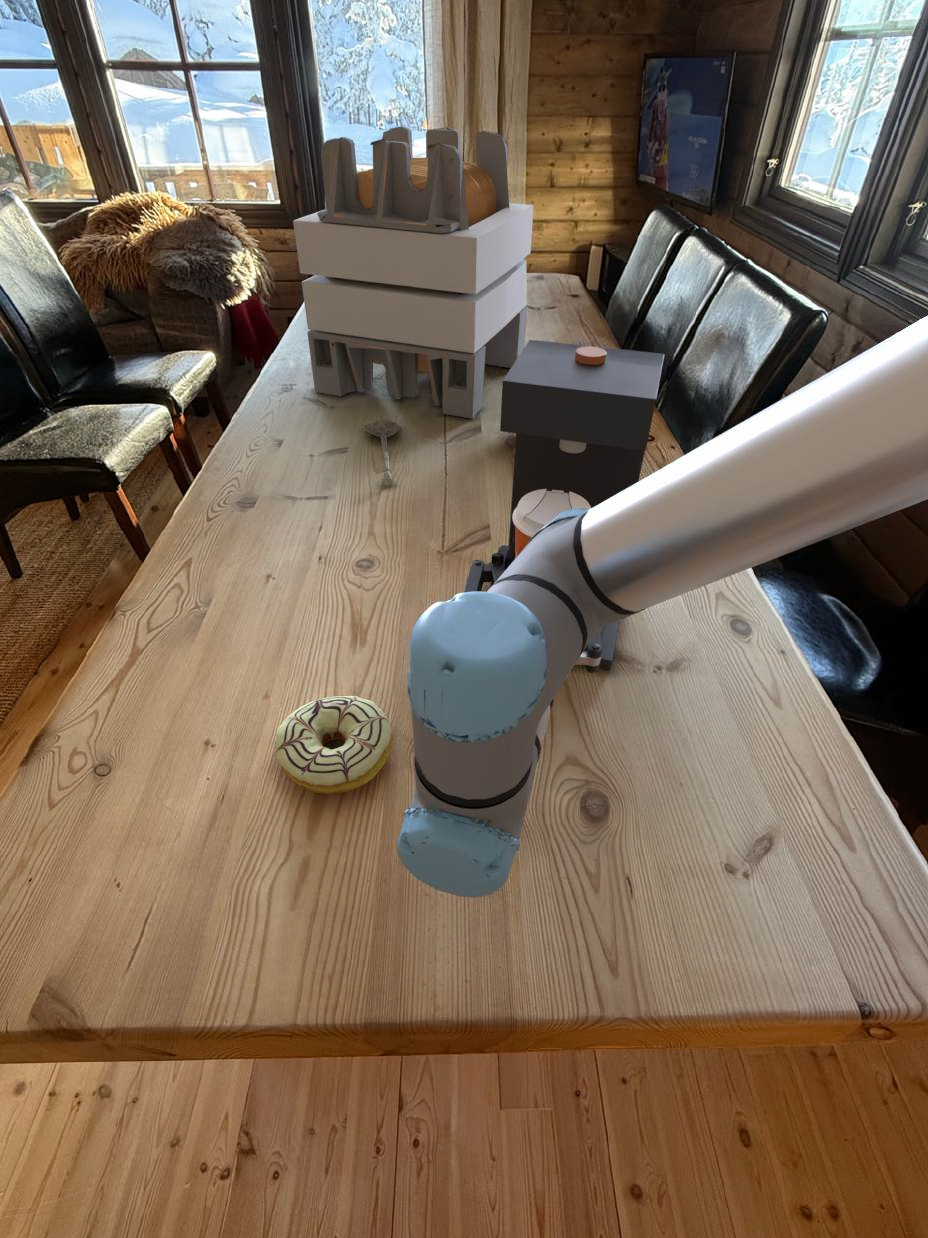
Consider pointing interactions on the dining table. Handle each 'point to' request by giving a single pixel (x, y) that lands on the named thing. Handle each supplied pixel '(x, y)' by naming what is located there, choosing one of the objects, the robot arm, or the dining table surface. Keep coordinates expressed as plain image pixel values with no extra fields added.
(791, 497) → the robot arm
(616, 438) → the coffee maker
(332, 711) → the decorated donut
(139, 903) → the dining table surface
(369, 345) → the transformer
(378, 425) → the soupspoon
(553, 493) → the paper cup
